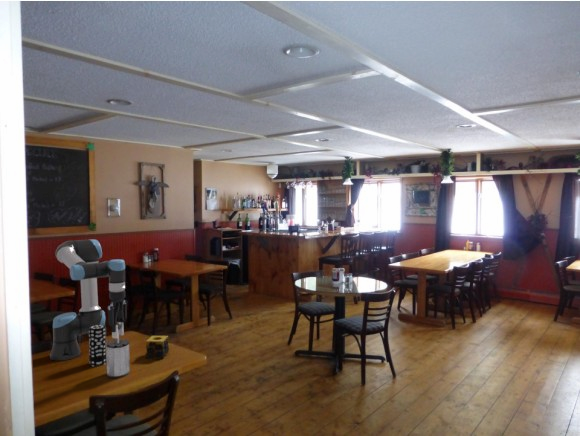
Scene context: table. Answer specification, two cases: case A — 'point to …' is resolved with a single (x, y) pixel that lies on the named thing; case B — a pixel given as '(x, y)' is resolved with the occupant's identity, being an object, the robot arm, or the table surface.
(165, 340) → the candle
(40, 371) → the table surface
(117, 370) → the grey cylinder
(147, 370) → the table surface
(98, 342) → the spotted tube
